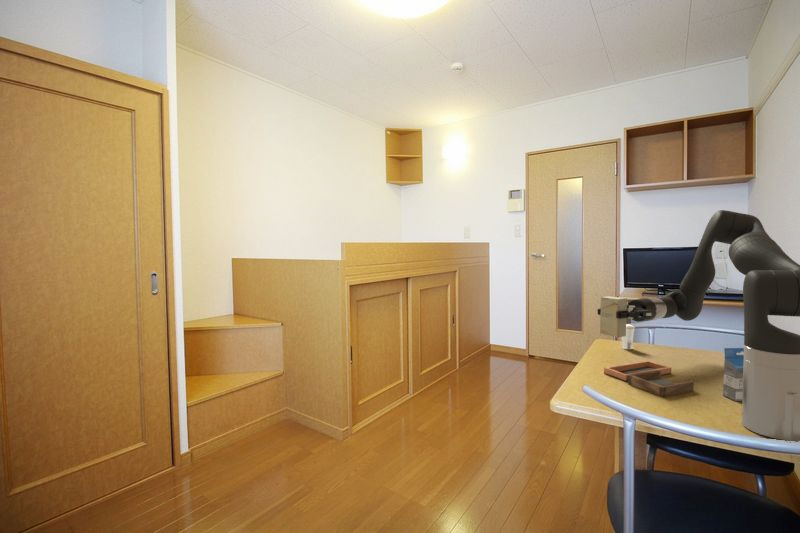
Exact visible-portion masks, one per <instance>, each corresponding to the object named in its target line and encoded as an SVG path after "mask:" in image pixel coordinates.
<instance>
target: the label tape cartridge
mask: <svg viewBox="0 0 800 533" xmlns="http://www.w3.org/2000/svg"><path fill="white" fill-rule="evenodd" d="M723 348H724V347H723ZM723 351H724V361H723V362H724V365H723V386H722V387H723V389H722V396H724V397H725V398H728V399H730V400H732V401H734V402H743V363H744V354H741V353H742V352H743V353H744V347H725V348H724V350H723ZM738 353H739V354H738Z"/></svg>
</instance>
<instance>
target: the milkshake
mask: <svg viewBox="0 0 800 533" xmlns="http://www.w3.org/2000/svg"><path fill="white" fill-rule="evenodd" d="M637 323H638V322H636V321H635V323H634V325H632V324H627V323H626V336H624V337H620V339H621V348H622V349H623V350H627V351H631V350H633V344H634V334H635V327H636V325H637Z"/></svg>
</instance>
